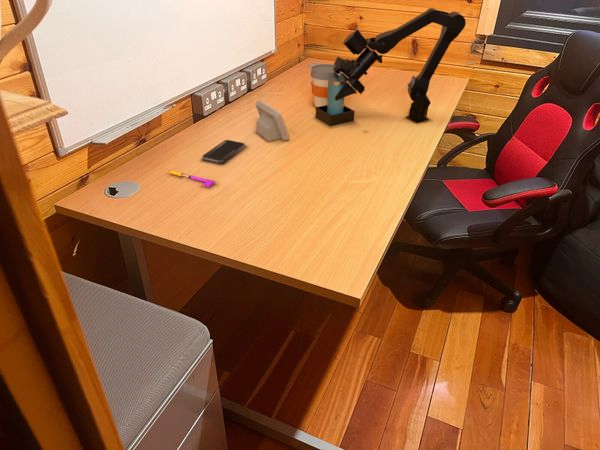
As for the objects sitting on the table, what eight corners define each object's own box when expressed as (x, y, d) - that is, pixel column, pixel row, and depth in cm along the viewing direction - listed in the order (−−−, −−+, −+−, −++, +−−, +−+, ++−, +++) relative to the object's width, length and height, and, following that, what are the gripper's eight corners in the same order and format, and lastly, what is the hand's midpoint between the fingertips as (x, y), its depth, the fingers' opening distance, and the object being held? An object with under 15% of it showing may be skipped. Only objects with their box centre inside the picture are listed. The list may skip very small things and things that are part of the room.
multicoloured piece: (216, 183, 136) (171, 172, 141) (215, 180, 135) (170, 169, 140) (211, 189, 134) (166, 177, 140) (210, 186, 133) (165, 174, 139)
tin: (337, 108, 180) (338, 75, 173) (346, 113, 176) (348, 80, 169) (323, 111, 177) (324, 78, 170) (332, 116, 173) (334, 83, 166)
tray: (338, 113, 184) (339, 102, 182) (353, 122, 177) (354, 110, 174) (315, 118, 179) (315, 107, 177) (330, 127, 172) (330, 115, 170)
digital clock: (290, 141, 161) (290, 112, 155) (265, 145, 158) (264, 115, 152) (276, 124, 174) (276, 96, 168) (253, 127, 171) (251, 99, 165)
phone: (200, 156, 148) (226, 139, 159) (201, 160, 148) (226, 142, 160) (222, 161, 145) (246, 143, 156) (222, 164, 146) (246, 146, 157)
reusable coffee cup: (305, 108, 189) (306, 70, 180) (316, 98, 198) (317, 62, 190) (334, 112, 185) (336, 74, 177) (344, 102, 195) (346, 66, 186)
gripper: (339, 42, 172) (310, 75, 175) (359, 55, 157) (326, 90, 161) (357, 63, 178) (329, 94, 182) (378, 77, 163) (346, 110, 167)
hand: (332, 96), depth 173 cm, fingers closed on tin, 6 cm apart
